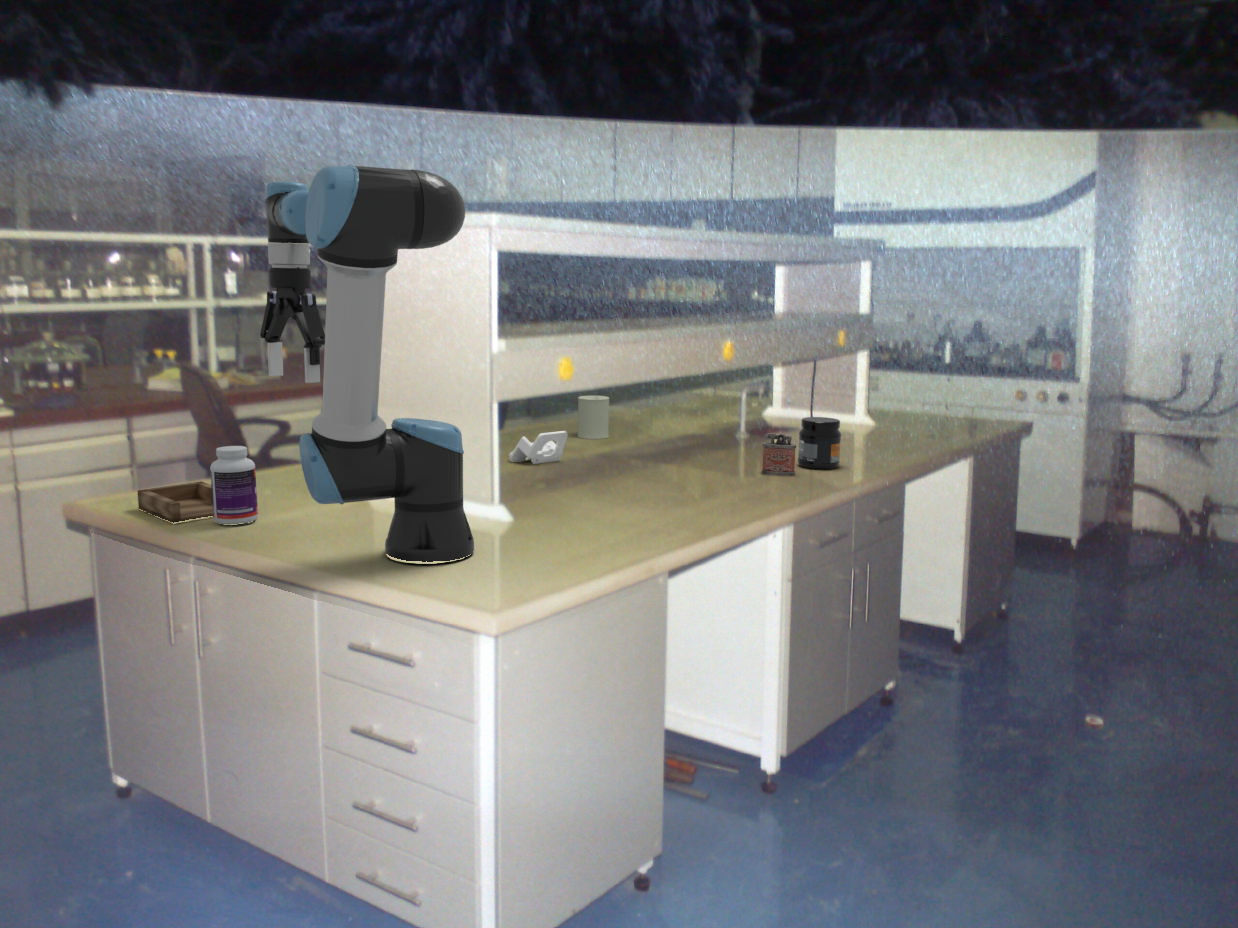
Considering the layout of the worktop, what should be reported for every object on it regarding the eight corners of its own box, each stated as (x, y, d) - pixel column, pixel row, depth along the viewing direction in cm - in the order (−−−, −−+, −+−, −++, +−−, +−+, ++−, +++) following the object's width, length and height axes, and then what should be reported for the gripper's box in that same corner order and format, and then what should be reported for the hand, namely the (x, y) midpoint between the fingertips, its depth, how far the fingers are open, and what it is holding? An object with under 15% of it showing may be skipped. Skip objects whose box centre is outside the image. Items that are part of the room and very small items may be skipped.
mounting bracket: (519, 473, 260) (529, 436, 255) (506, 459, 264) (515, 423, 259) (558, 467, 267) (568, 432, 262) (545, 454, 271) (555, 419, 266)
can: (585, 440, 297) (586, 398, 295) (572, 435, 306) (572, 394, 303) (614, 438, 302) (615, 397, 299) (600, 433, 310) (600, 393, 307)
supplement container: (846, 466, 265) (849, 419, 262) (826, 472, 257) (829, 424, 254) (810, 460, 271) (812, 415, 269) (789, 466, 263) (791, 419, 261)
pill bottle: (266, 522, 200) (262, 448, 197) (226, 529, 194) (222, 453, 191) (244, 515, 205) (240, 443, 202) (205, 522, 199) (201, 448, 196)
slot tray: (238, 513, 206) (237, 493, 205) (173, 524, 197) (171, 503, 196) (202, 500, 217) (201, 481, 216) (138, 510, 208) (137, 490, 207)
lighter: (795, 473, 254) (797, 433, 252) (794, 476, 251) (796, 435, 249) (762, 471, 256) (764, 431, 254) (760, 474, 253) (762, 433, 251)
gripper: (343, 268, 191) (346, 383, 195) (274, 265, 207) (278, 372, 211) (306, 268, 185) (310, 386, 189) (239, 265, 202) (244, 374, 206)
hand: (294, 379), depth 200 cm, fingers open, 13 cm apart
